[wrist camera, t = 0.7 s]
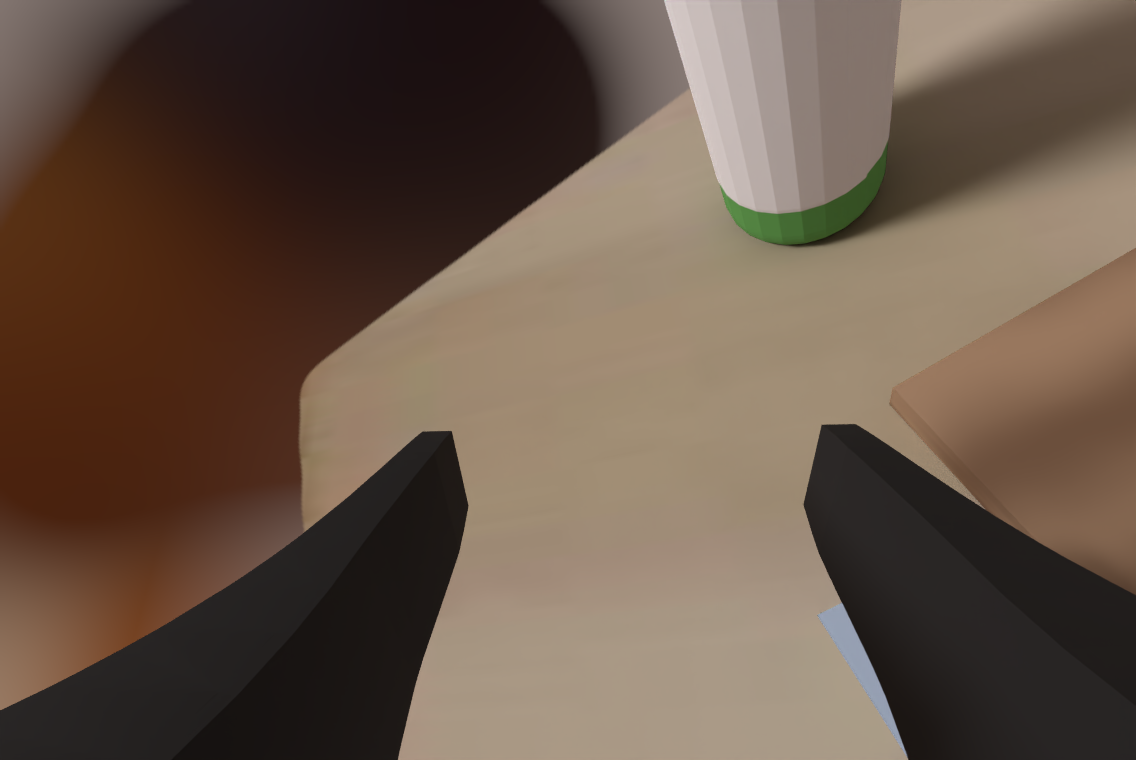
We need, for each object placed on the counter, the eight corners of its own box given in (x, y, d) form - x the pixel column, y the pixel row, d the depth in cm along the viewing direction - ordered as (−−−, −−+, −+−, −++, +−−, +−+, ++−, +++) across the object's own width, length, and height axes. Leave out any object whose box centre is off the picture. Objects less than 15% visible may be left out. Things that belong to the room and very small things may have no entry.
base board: (1463, 488, 15) (1540, 474, 13) (1107, 641, 17) (1135, 645, 15) (1127, 268, 20) (1152, 237, 18) (889, 403, 22) (892, 387, 20)
